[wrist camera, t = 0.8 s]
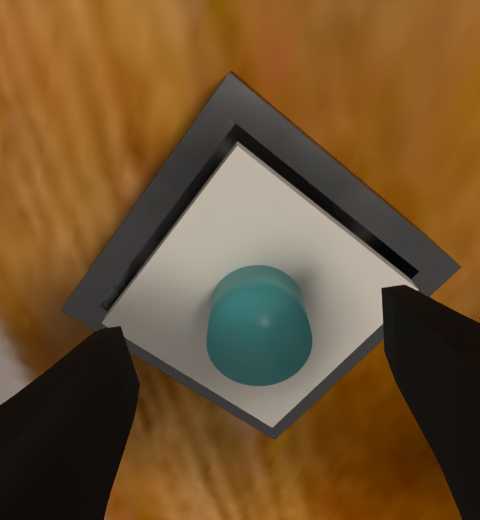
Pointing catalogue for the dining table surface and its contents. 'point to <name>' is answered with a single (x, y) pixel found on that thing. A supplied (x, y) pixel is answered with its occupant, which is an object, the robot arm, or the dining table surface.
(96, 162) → the dining table surface
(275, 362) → the plunger
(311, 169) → the press housing
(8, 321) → the dining table surface
